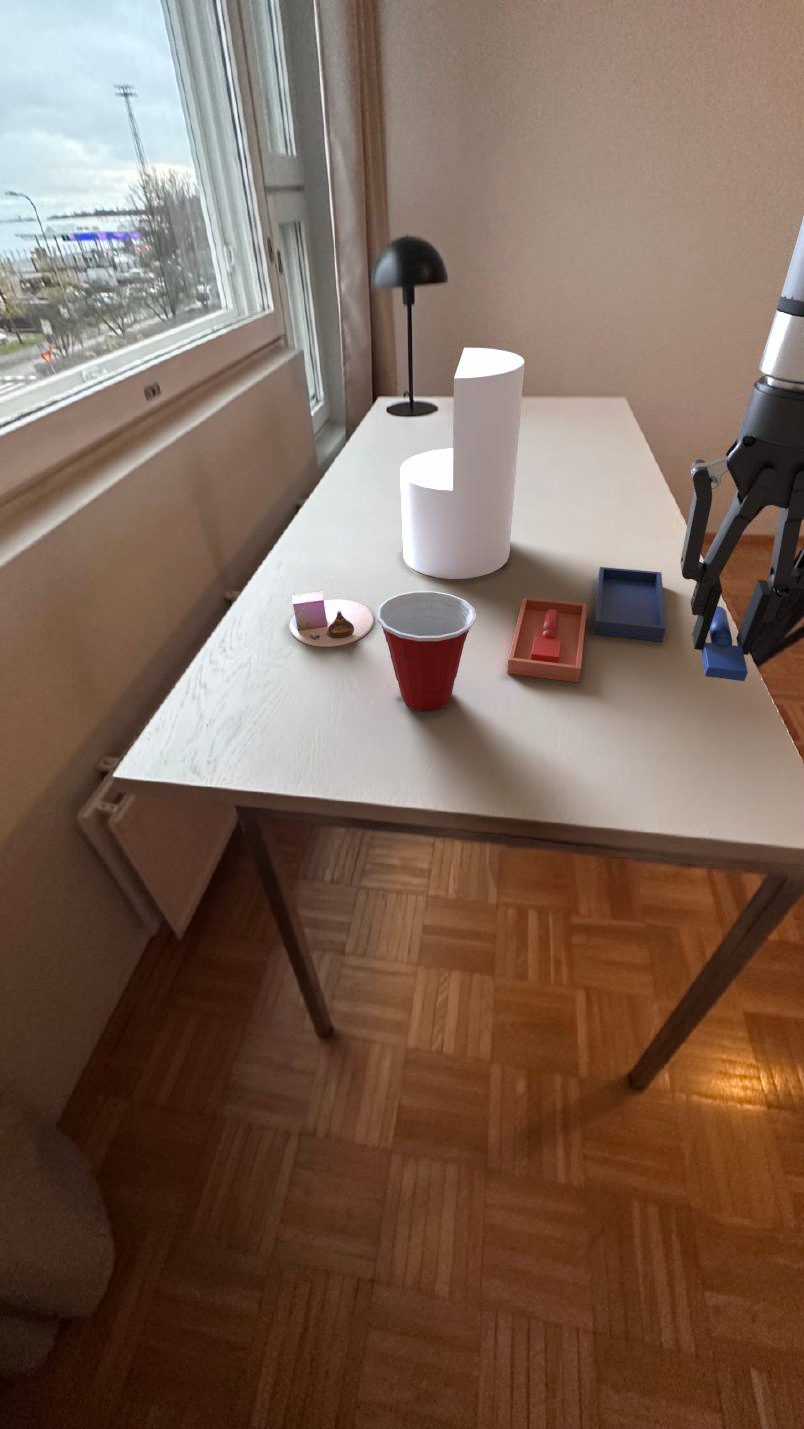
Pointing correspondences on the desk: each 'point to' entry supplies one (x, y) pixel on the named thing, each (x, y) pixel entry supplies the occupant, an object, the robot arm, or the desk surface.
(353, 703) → the desk surface
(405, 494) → the cylinder
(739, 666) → the blue stamp
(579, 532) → the desk surface
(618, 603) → the blue tray
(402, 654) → the plastic cup
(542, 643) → the red rubber stamp
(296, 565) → the desk surface
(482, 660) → the desk surface
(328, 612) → the round pink plate
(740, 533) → the robot arm
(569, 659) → the terracotta tray
